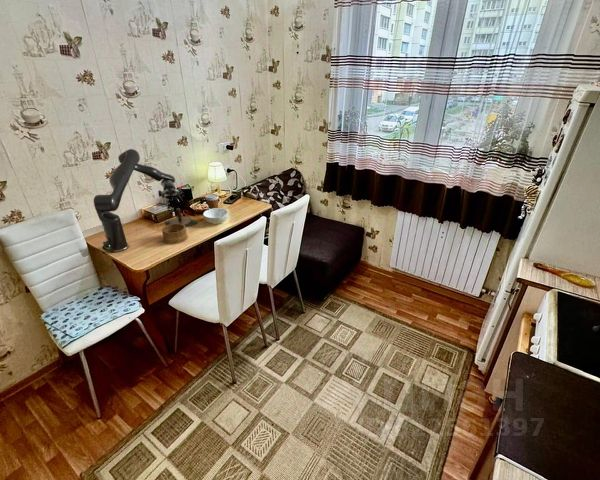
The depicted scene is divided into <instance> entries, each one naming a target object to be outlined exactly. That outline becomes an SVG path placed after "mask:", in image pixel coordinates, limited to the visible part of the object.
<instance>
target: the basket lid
mask: <svg viewBox="0 0 600 480" xmlns="http://www.w3.org/2000/svg"><path fill="white" fill-rule="evenodd" d="M175 210H176V215H177V217H174V218H172V219H170V220H169V221H170V222H169V223H170V224H175V223H179V224H183V225H187V224H189V223H190V222H191V221H192V220H193V219H192V218H191V217H189V216H188V217H185V216H182V210H181V208H180V207H178V208H176V209H175ZM191 219H192V220H191Z"/></svg>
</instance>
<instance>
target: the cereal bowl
mask: <svg viewBox="0 0 600 480" xmlns="http://www.w3.org/2000/svg"><path fill="white" fill-rule="evenodd" d="M202 214H203V216H202V217H203V219H204V221H205V222H207V223H209V224H213V225H219V224H222V223H223V222H225V221H227V219H228V217H229V211H228V210H227V209H225V208H221V207H218V208H213V209H209V208H208V209H207V210H205V211H204V212H203V213H202Z"/></svg>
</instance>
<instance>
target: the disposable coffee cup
mask: <svg viewBox="0 0 600 480" xmlns="http://www.w3.org/2000/svg"><path fill="white" fill-rule="evenodd" d="M219 198H220V196H219V195H218V194H216V193H209V194H207V195H205V200H206V203H207V207H208V209H209V208H210V209H213V208H219Z"/></svg>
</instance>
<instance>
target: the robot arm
mask: <svg viewBox="0 0 600 480" xmlns="http://www.w3.org/2000/svg"><path fill="white" fill-rule="evenodd" d="M117 159H118V162H119V163H120V164H119V165H118V166H117V167H115V169H114V170H113V171H112V173H111V174H110V177H109V184H110V187H111V189H112V192H111V193H110V194H96V195H95V196H94V197H93V207H94V209H95V212H96V214H97V217H98V219H99V221H100V222H101V225H102V227H103V228H102V229H103V231H104V236H105V239H106V241H103V242H102V249H103V250H104V251H109V250H110V252H111V253H119V252H124V251H125V250H127V249H128V248H129V244H128V240H127V237H126V235H125V231H124V228H123V224H122V220H121V217H120V216H119V214H116V213H114V212H116V211H117V210H118V209H119V206H120V204H121V201H122V197H123V195H124V192H125V189H126V187H127V186H128V184H129V182H130V179H131V177H132V175H133V173H134V171H135V172H138V173H140V174H143V175H145V176H148V177H149V178H151V179H153V181H156V182H160V186H161V187H162V188H163V190H160V189H159V190H158V192H157V193H158V194H157V195H158V197H159V198H162V199H165V198H166V197H168V196H177V197H181V195H183V191H182V188H180V187H179V188H178V189H177V188H176V186H175V182H176V178H175V176H174V175H171V174H170V173H165V172H162V171H160V170H159V169H157V168H156V167H153V166H149V165H145V164H141V163H139V162H140V160H141V156H140V154H139V152H138V150H136V149H133V148H130V149H129V148H128V149H126V150H125V151H123V152H122V153H120V154H119V155H118V158H117Z"/></svg>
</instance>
